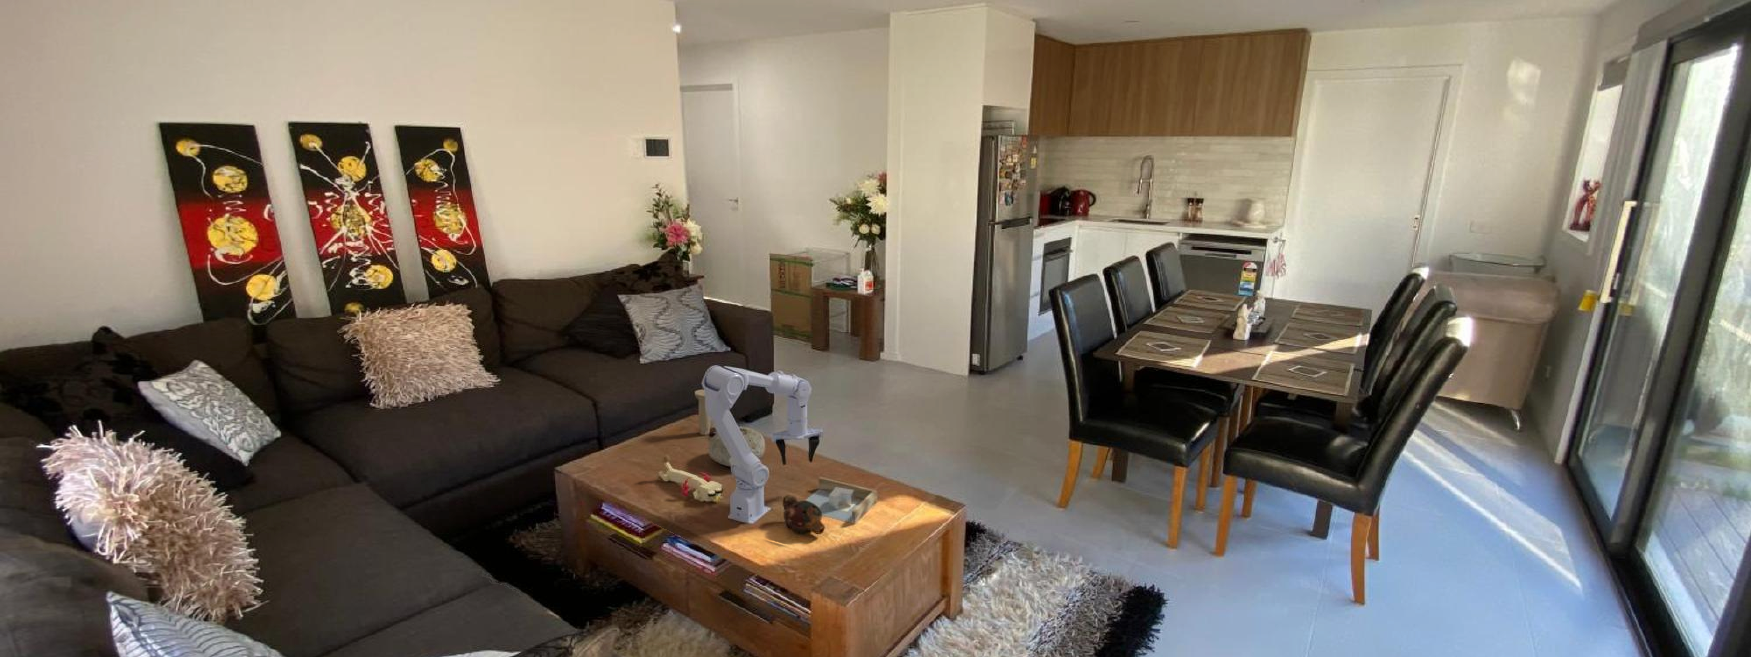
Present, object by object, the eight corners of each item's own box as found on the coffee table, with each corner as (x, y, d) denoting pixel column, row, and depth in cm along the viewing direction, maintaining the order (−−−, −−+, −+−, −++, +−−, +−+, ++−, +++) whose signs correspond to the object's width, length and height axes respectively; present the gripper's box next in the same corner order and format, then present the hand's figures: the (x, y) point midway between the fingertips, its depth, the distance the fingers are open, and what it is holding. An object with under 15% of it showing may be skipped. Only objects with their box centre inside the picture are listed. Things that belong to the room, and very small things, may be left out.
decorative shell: (698, 467, 235) (696, 437, 232) (725, 445, 251) (724, 417, 249) (750, 476, 230) (749, 446, 227) (774, 453, 246) (774, 424, 244)
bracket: (835, 499, 216) (835, 487, 215) (853, 502, 214) (854, 490, 213) (828, 508, 211) (828, 495, 210) (847, 512, 209) (847, 498, 208)
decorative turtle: (794, 513, 209) (796, 486, 207) (835, 535, 200) (837, 508, 198) (768, 525, 201) (770, 498, 199) (809, 548, 193) (812, 520, 190)
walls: (855, 525, 203) (855, 512, 202) (795, 509, 211) (795, 496, 209) (877, 503, 215) (877, 490, 214) (820, 489, 223) (820, 476, 222)
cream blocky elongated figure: (652, 487, 224) (705, 508, 209) (648, 460, 222) (703, 479, 207) (679, 476, 232) (733, 495, 216) (676, 449, 230) (730, 467, 214)
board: (851, 524, 203) (851, 523, 203) (795, 509, 211) (795, 508, 210) (872, 504, 215) (872, 502, 214) (818, 490, 222) (818, 489, 222)
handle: (704, 438, 256) (702, 396, 252) (693, 432, 260) (691, 391, 256) (716, 434, 259) (714, 393, 256) (705, 429, 264) (704, 388, 260)
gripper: (773, 425, 208) (774, 470, 212) (825, 421, 212) (824, 465, 216) (769, 416, 215) (770, 460, 218) (820, 411, 219) (819, 455, 222)
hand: (797, 462), depth 217 cm, fingers open, 7 cm apart
